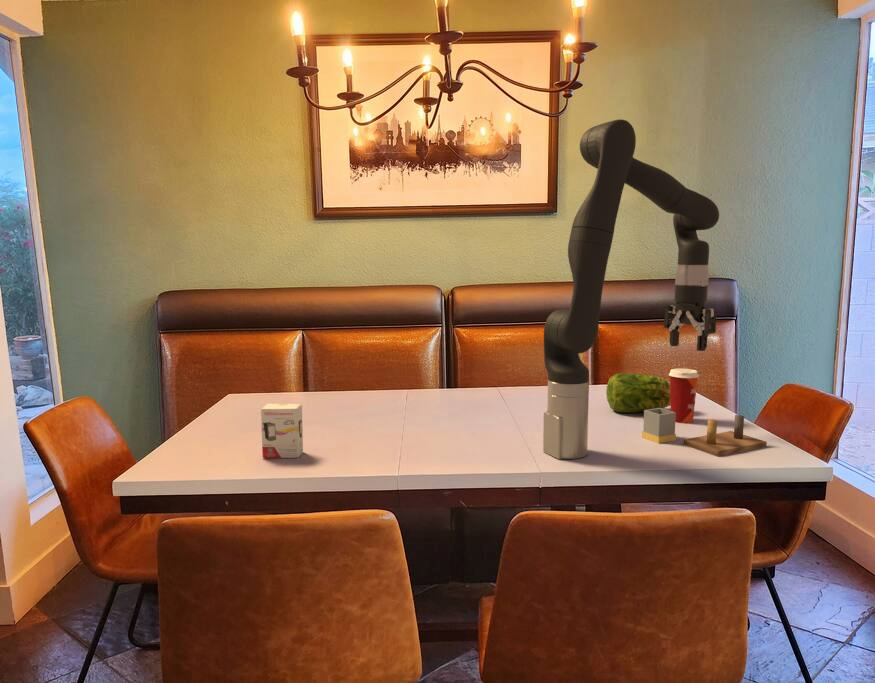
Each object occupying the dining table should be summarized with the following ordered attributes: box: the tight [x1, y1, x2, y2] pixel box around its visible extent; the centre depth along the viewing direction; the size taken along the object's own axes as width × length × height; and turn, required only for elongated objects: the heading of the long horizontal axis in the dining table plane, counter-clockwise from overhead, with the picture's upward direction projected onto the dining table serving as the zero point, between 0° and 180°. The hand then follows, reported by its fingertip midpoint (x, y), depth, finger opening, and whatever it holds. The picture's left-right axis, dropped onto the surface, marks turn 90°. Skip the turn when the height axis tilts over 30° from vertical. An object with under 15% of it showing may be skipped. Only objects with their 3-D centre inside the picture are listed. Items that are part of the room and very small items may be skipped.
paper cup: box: [668, 368, 700, 424], centre depth 166 cm, size 8×8×14 cm
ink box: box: [260, 403, 304, 459], centre depth 141 cm, size 9×5×12 cm, turn 89°
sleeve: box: [641, 408, 677, 444], centre depth 150 cm, size 6×6×7 cm
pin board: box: [682, 414, 768, 457], centre depth 145 cm, size 16×10×7 cm, turn 114°
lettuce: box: [605, 372, 671, 414], centre depth 176 cm, size 12×21×11 cm, turn 88°
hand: (687, 348), depth 152 cm, fingers open, 8 cm apart
